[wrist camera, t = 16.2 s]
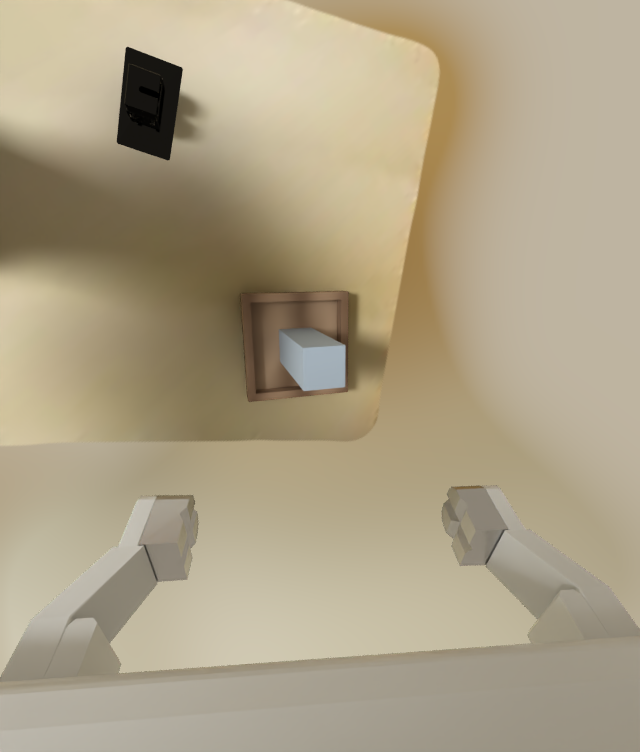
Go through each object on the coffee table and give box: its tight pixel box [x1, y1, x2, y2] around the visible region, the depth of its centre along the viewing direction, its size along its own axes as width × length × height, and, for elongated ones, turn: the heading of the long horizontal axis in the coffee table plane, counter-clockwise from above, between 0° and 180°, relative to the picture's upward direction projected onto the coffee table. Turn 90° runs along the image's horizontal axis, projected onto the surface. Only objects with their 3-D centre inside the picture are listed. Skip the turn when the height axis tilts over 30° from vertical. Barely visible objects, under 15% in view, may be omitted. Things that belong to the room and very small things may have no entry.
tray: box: [240, 291, 348, 402], centre depth 50 cm, size 14×14×2 cm
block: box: [279, 328, 345, 391], centre depth 44 cm, size 4×4×14 cm
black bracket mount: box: [117, 47, 183, 160], centre depth 38 cm, size 12×7×5 cm, turn 166°
